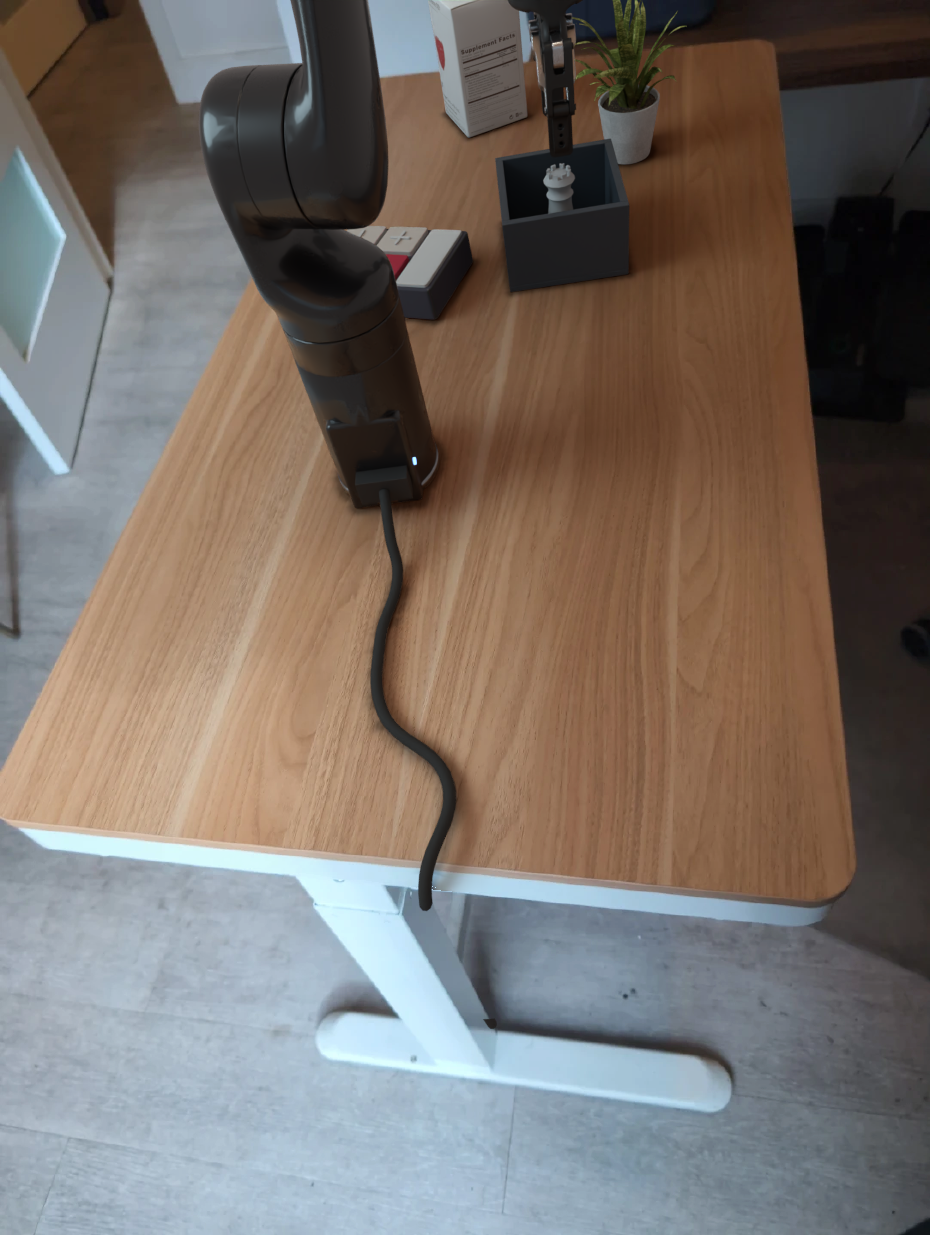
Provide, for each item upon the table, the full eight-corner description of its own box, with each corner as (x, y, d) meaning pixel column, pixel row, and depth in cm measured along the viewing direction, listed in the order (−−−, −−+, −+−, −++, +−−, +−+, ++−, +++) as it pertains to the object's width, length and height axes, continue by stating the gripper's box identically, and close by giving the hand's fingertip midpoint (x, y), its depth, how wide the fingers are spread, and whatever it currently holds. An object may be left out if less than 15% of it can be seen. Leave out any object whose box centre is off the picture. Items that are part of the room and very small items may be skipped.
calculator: (348, 220, 95) (467, 223, 90) (359, 255, 99) (474, 260, 93) (303, 277, 90) (427, 284, 85) (317, 312, 94) (436, 320, 88)
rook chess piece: (590, 234, 92) (588, 161, 86) (571, 257, 90) (567, 184, 84) (554, 228, 94) (549, 156, 87) (535, 250, 92) (529, 178, 86)
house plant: (548, 140, 107) (538, -10, 93) (651, 110, 107) (656, -43, 94) (585, 192, 98) (580, 36, 85) (697, 160, 99) (709, -1, 85)
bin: (628, 274, 88) (629, 204, 82) (510, 292, 89) (502, 225, 83) (611, 206, 96) (610, 137, 90) (502, 223, 97) (495, 157, 91)
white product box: (443, 113, 115) (423, -15, 103) (503, 93, 116) (490, -37, 104) (467, 139, 110) (448, 8, 98) (529, 118, 111) (518, -15, 99)
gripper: (497, -87, 74) (515, 108, 87) (506, -31, 66) (524, 176, 79) (582, -104, 73) (587, 95, 86) (601, -49, 65) (604, 163, 78)
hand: (557, 134), depth 82 cm, fingers open, 8 cm apart
